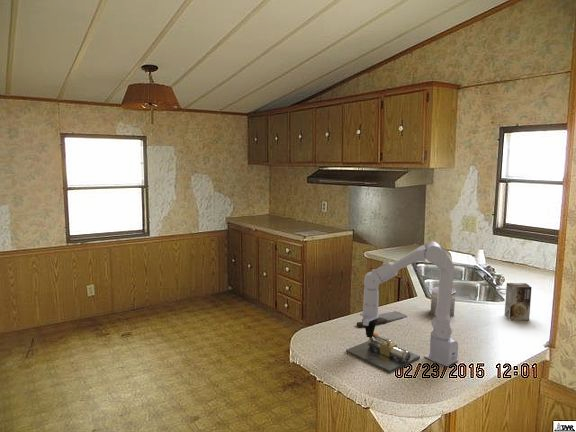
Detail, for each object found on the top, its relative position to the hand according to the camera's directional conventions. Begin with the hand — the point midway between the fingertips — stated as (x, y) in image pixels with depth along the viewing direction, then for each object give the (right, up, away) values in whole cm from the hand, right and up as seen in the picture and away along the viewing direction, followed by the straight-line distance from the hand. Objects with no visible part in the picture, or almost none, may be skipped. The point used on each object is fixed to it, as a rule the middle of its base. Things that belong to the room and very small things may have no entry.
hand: (369, 337), depth 169 cm
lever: (+3, 0, -1) cm, 3 cm away
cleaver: (+11, -2, +33) cm, 35 cm away
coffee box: (+77, -1, +37) cm, 85 cm away
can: (+43, 0, +42) cm, 60 cm away
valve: (+4, -6, -3) cm, 8 cm away
